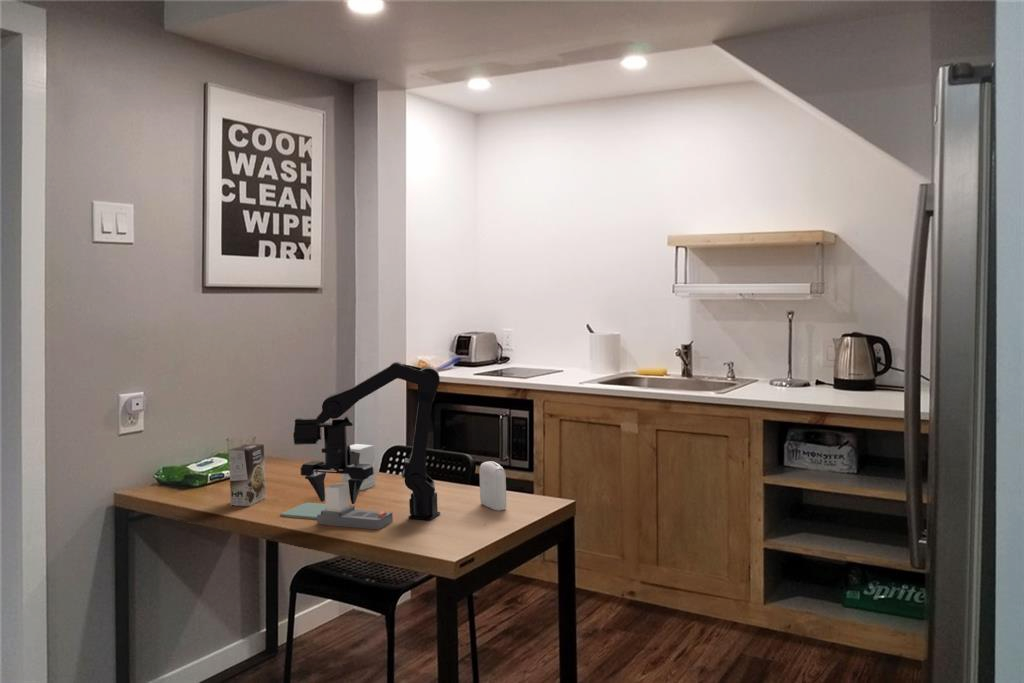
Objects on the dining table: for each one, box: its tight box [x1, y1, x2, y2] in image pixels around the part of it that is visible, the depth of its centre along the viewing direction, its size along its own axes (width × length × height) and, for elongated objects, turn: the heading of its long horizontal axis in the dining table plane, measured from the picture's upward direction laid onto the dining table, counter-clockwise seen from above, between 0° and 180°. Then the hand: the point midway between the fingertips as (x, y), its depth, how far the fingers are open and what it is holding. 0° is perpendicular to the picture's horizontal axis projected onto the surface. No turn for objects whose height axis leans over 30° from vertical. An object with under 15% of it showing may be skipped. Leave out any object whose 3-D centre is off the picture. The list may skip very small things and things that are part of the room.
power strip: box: [316, 504, 394, 530], centre depth 208 cm, size 18×7×3 cm, turn 70°
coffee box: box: [228, 443, 267, 507], centre depth 231 cm, size 9×6×16 cm
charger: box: [324, 482, 351, 512], centre depth 209 cm, size 4×5×7 cm
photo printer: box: [478, 460, 508, 511], centre depth 220 cm, size 10×4×12 cm, turn 27°
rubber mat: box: [279, 502, 326, 520], centre depth 219 cm, size 12×12×1 cm
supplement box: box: [342, 443, 377, 491], centre depth 246 cm, size 7×7×13 cm
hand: (338, 502), depth 209 cm, fingers open, 9 cm apart
